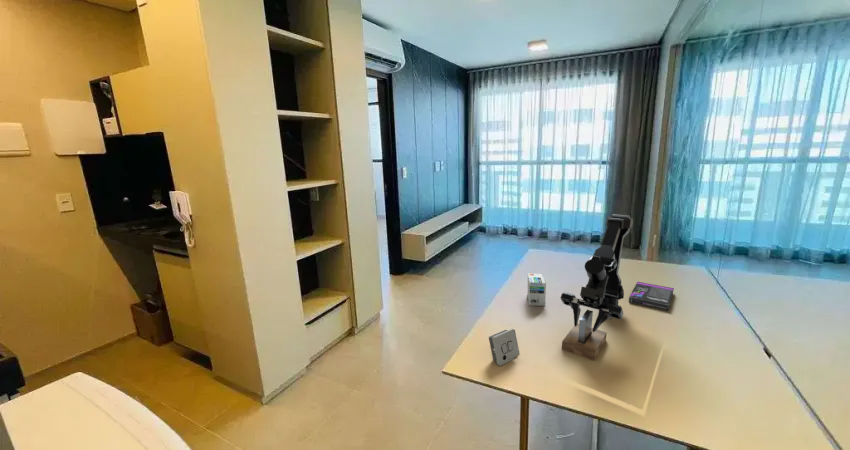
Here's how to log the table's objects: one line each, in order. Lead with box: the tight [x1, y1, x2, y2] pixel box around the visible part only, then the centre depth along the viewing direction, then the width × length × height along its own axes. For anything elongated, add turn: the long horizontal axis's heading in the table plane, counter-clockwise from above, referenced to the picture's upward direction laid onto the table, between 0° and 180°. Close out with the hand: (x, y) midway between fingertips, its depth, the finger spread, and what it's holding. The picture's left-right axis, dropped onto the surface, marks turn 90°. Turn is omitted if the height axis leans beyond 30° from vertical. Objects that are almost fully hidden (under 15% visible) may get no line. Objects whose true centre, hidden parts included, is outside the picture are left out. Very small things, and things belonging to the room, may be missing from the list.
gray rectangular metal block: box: [578, 309, 594, 344], centre depth 112 cm, size 8×2×11 cm, turn 139°
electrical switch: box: [488, 328, 520, 366], centre depth 109 cm, size 9×5×9 cm, turn 121°
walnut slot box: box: [561, 323, 608, 361], centre depth 113 cm, size 14×10×4 cm
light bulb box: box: [526, 272, 547, 307], centre depth 146 cm, size 11×7×11 cm, turn 168°
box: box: [628, 281, 675, 312], centre depth 144 cm, size 14×4×20 cm
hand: (584, 328), depth 110 cm, fingers open, 5 cm apart
